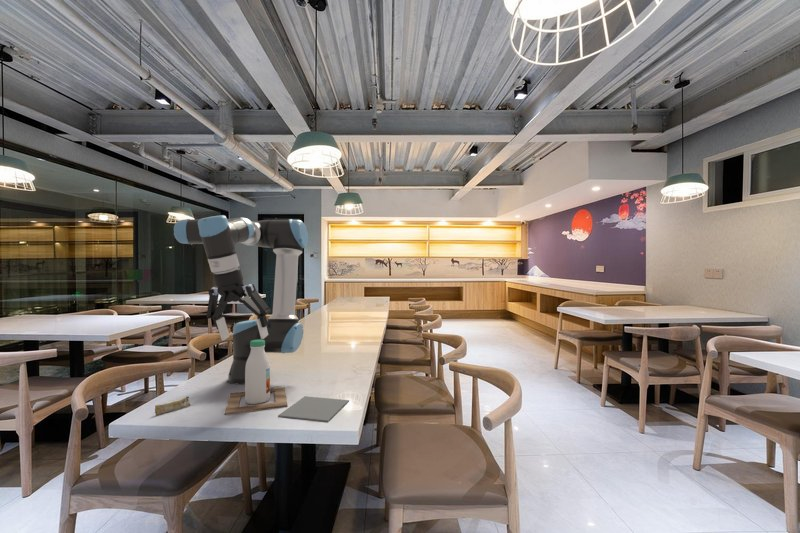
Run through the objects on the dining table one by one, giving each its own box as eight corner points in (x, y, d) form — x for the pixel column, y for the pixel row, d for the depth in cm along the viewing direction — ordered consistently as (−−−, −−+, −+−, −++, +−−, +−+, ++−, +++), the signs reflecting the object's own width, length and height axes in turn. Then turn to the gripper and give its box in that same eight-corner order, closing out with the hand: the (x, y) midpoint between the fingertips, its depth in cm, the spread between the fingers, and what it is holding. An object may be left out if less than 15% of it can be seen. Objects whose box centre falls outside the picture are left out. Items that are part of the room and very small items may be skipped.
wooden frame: (230, 394, 123) (230, 392, 123) (284, 388, 130) (284, 386, 130) (224, 414, 106) (224, 412, 107) (287, 406, 113) (287, 403, 113)
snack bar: (155, 416, 106) (155, 406, 106) (153, 414, 107) (153, 404, 107) (190, 406, 113) (190, 397, 113) (188, 405, 114) (188, 395, 114)
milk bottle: (261, 405, 114) (261, 343, 114) (239, 404, 115) (239, 342, 115) (274, 397, 121) (274, 338, 121) (254, 395, 123) (254, 337, 123)
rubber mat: (304, 397, 121) (304, 396, 121) (348, 401, 117) (348, 400, 117) (278, 416, 105) (278, 415, 105) (328, 421, 101) (328, 420, 101)
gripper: (180, 277, 101) (201, 344, 106) (256, 270, 95) (275, 342, 100) (199, 270, 108) (218, 333, 113) (271, 263, 102) (288, 330, 107)
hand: (245, 337), depth 107 cm, fingers open, 13 cm apart
